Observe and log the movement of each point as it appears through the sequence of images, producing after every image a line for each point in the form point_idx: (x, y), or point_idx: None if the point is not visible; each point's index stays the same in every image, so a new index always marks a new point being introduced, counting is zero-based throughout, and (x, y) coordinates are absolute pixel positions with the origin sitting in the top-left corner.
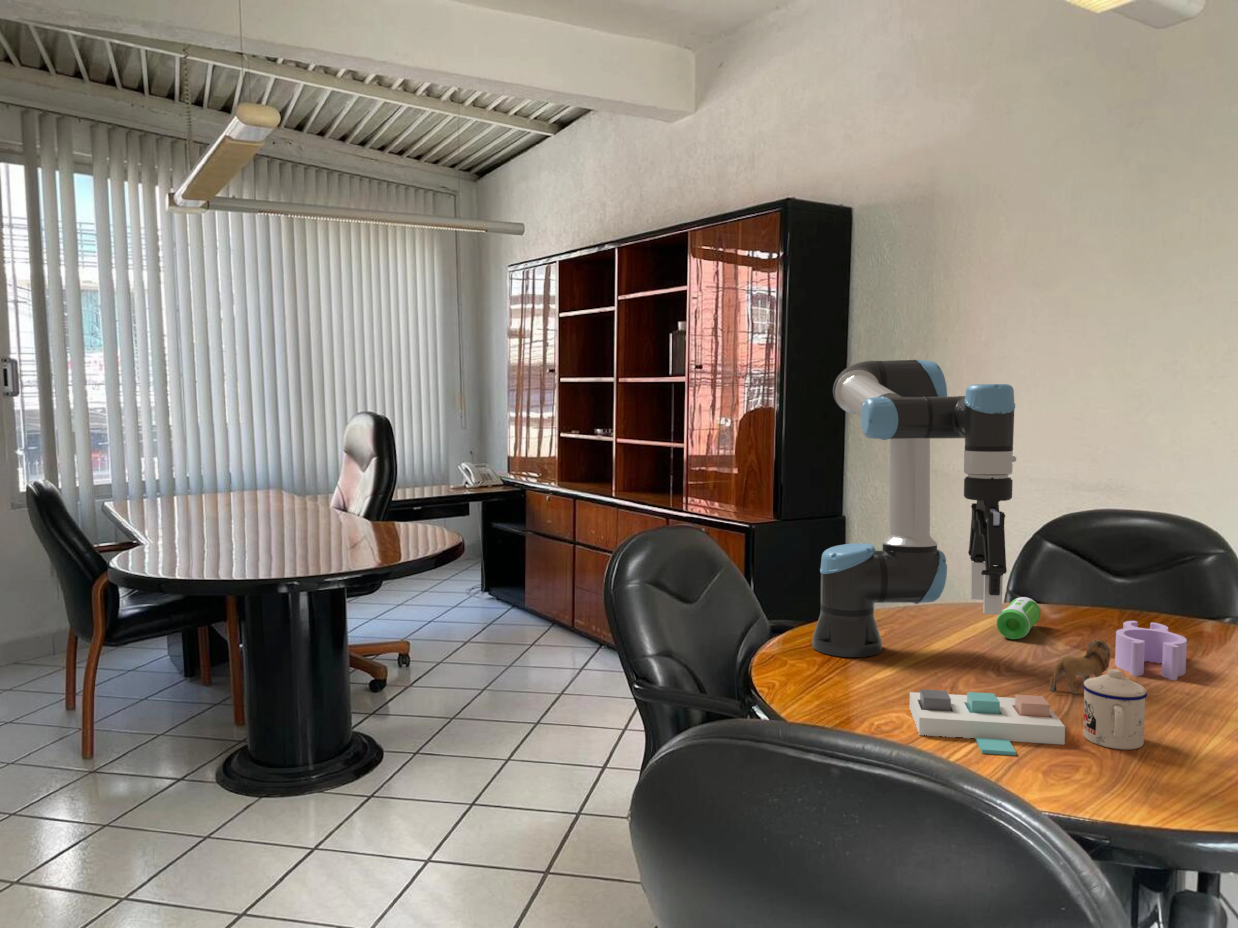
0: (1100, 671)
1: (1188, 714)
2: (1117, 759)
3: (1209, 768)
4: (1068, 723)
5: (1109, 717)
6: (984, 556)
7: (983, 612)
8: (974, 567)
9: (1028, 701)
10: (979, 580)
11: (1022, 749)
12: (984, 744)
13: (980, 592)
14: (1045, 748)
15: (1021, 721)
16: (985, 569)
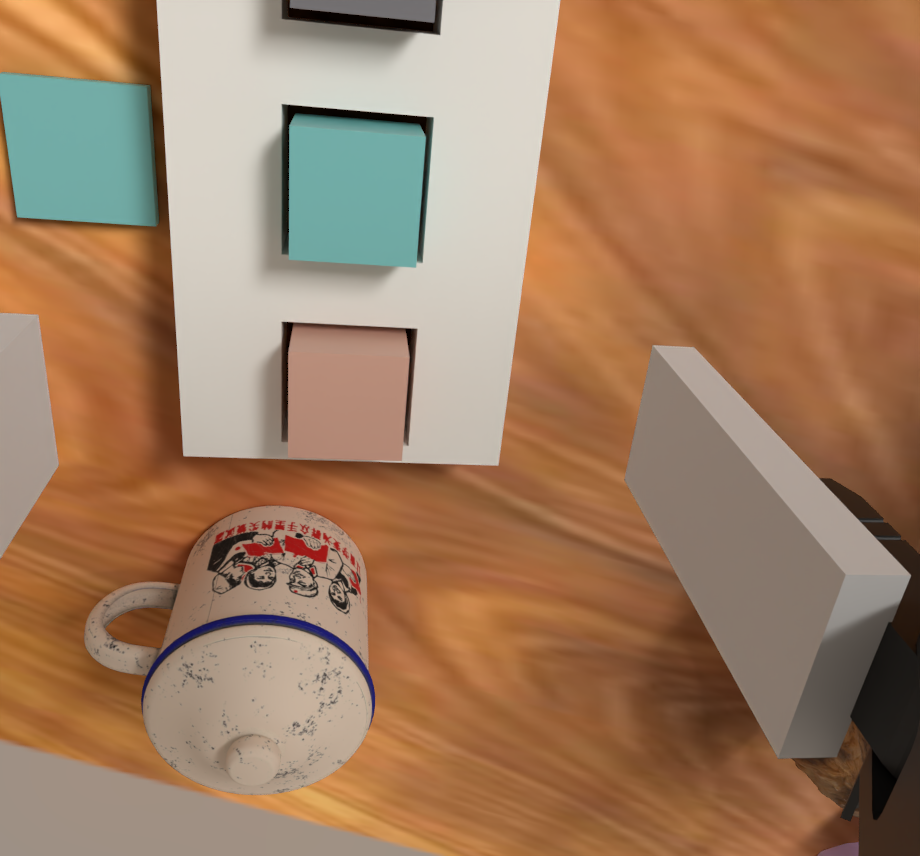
0: None
1: (530, 807)
2: (96, 539)
3: (97, 732)
4: (419, 494)
5: (173, 613)
6: (874, 801)
7: (25, 316)
8: (799, 560)
9: (318, 386)
10: (710, 516)
11: (103, 258)
12: (67, 102)
13: (660, 456)
14: (138, 347)
15: (206, 310)
16: (746, 662)
